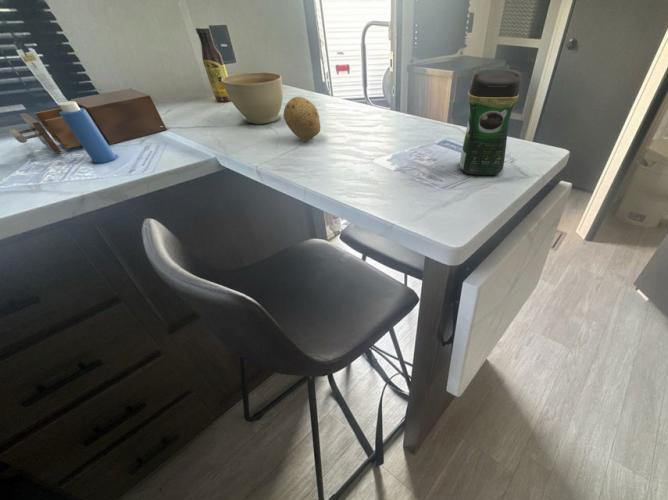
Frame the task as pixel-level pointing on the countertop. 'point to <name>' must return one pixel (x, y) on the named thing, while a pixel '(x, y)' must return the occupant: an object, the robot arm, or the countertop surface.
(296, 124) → the potato
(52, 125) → the drawer
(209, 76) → the sauce bottle
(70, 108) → the bottle
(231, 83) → the planter bowl
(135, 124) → the cabinet
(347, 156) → the countertop surface
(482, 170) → the coffee jar
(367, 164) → the countertop surface
